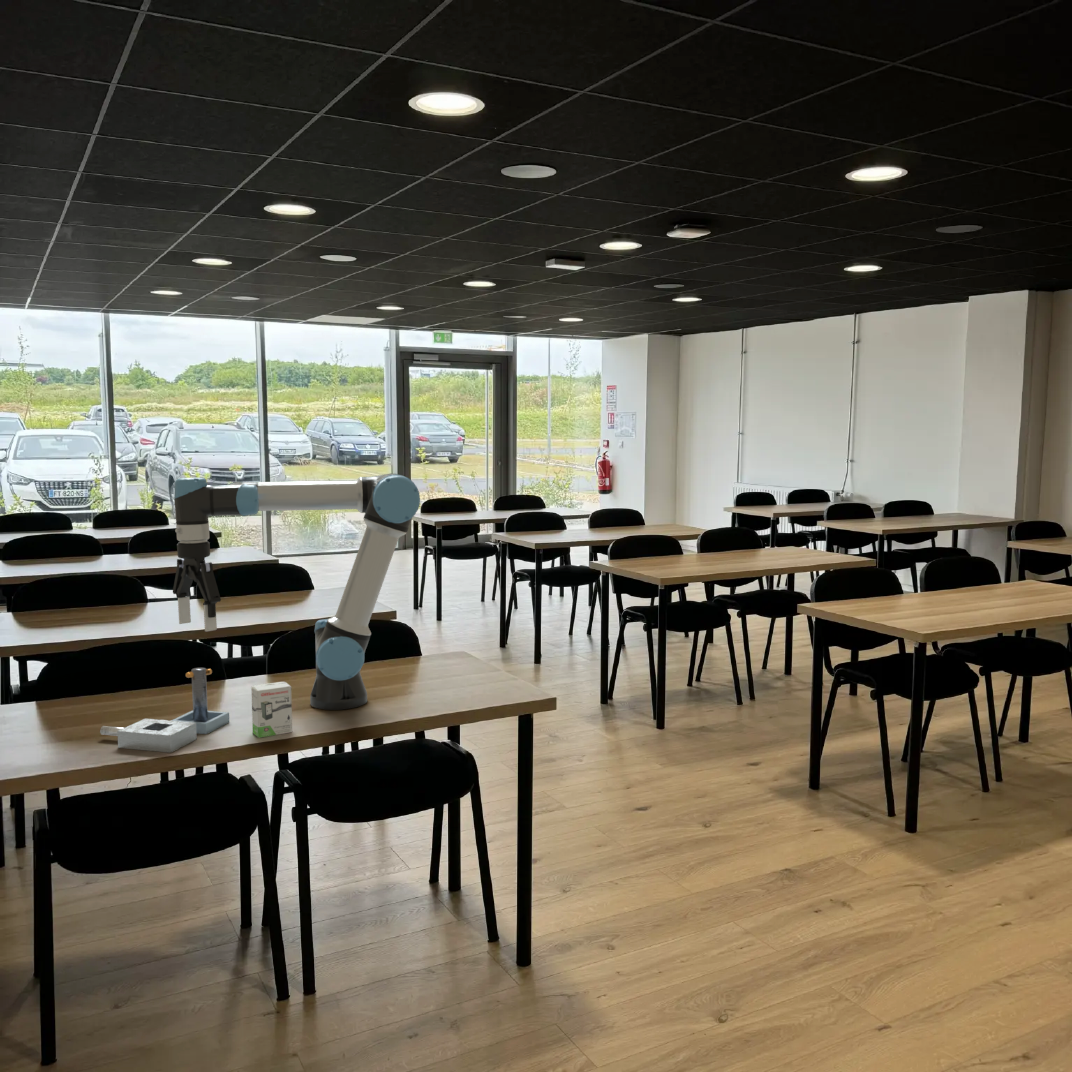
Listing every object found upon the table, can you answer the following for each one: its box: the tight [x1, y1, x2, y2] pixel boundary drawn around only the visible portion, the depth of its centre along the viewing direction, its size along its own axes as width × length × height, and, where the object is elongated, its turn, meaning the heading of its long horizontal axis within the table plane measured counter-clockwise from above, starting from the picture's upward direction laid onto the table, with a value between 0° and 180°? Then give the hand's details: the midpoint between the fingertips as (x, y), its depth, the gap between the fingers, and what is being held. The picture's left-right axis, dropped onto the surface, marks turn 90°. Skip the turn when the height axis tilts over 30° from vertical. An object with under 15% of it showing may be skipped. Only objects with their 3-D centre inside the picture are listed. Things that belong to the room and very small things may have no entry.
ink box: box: [250, 681, 293, 739], centre depth 232 cm, size 9×5×12 cm, turn 123°
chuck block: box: [99, 718, 198, 754], centre depth 225 cm, size 22×10×4 cm, turn 76°
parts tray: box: [170, 709, 230, 735], centre depth 237 cm, size 10×10×2 cm
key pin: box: [185, 667, 213, 723], centre depth 237 cm, size 6×3×14 cm, turn 128°
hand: (197, 626), depth 235 cm, fingers open, 13 cm apart
